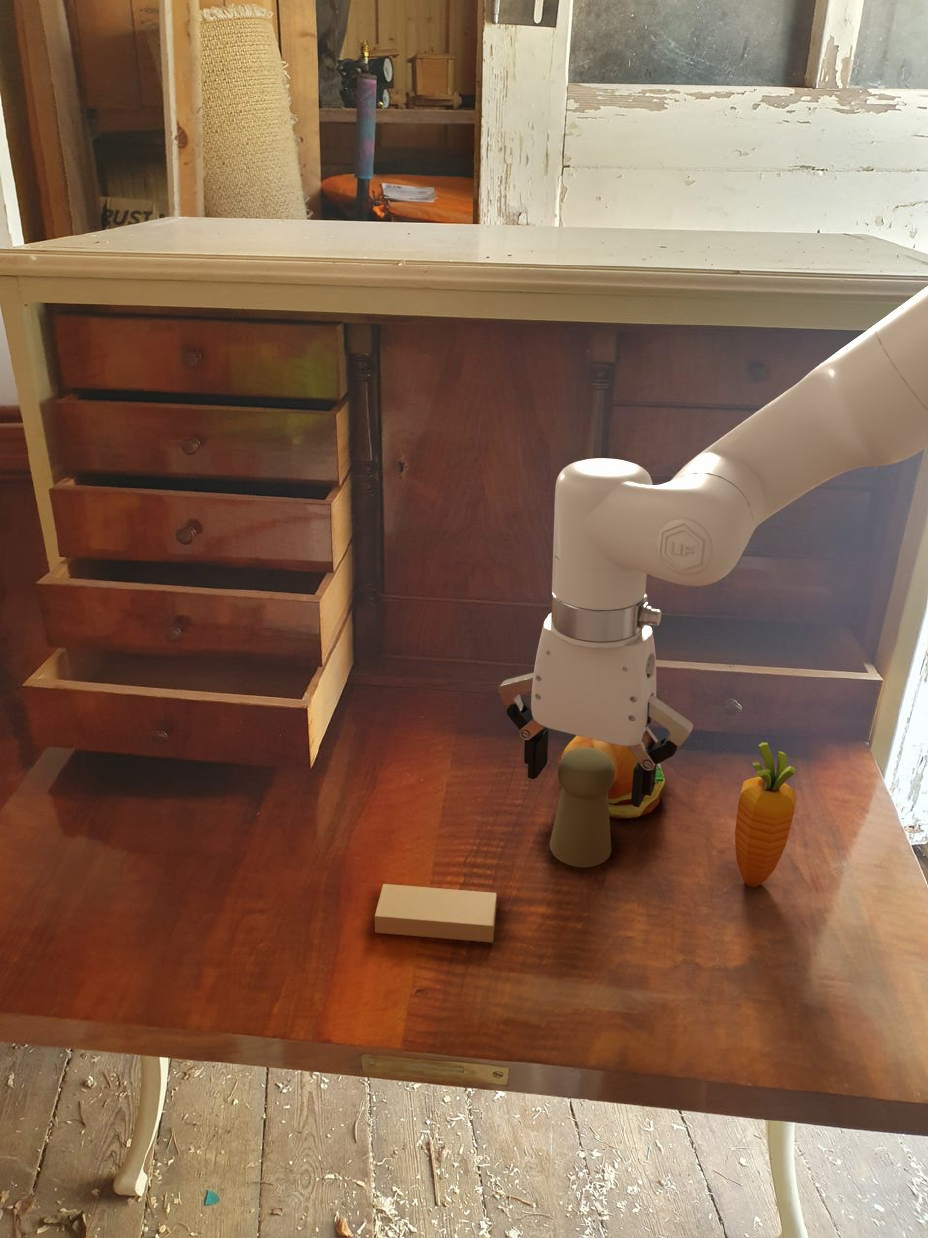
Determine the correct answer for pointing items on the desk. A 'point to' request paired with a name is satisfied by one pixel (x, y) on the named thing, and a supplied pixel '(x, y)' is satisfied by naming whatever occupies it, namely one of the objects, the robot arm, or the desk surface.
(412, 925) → the beige rectangular eraser
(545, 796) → the desk surface
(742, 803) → the carrot
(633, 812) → the cheeseburger
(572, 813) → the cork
